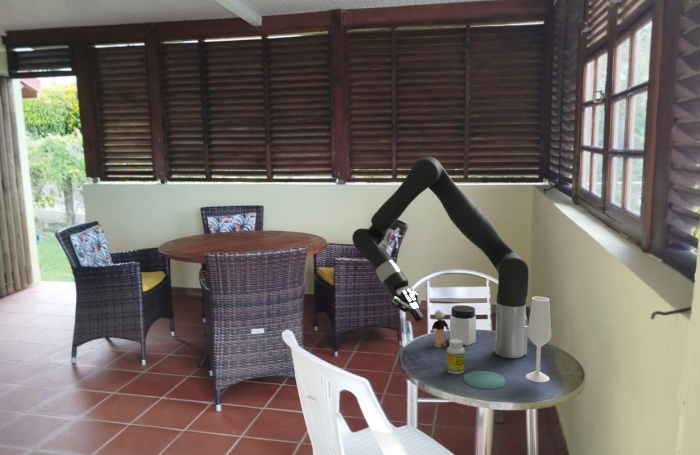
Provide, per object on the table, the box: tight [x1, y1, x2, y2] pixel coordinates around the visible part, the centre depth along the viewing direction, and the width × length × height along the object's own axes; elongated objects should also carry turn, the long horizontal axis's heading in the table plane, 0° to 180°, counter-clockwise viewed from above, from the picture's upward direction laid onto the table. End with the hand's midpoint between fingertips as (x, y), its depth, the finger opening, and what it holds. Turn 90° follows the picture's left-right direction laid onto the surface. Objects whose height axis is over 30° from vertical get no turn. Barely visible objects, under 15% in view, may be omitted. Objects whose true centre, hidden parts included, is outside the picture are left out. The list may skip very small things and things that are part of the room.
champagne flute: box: [525, 296, 552, 383], centre depth 160 cm, size 7×7×24 cm
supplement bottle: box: [446, 339, 466, 375], centre depth 166 cm, size 5×5×10 cm
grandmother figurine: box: [430, 309, 450, 348], centre depth 187 cm, size 8×4×13 cm, turn 133°
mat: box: [462, 370, 507, 390], centre depth 160 cm, size 12×12×1 cm
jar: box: [449, 304, 477, 346], centre depth 192 cm, size 9×8×12 cm
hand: (420, 320), depth 174 cm, fingers closed
